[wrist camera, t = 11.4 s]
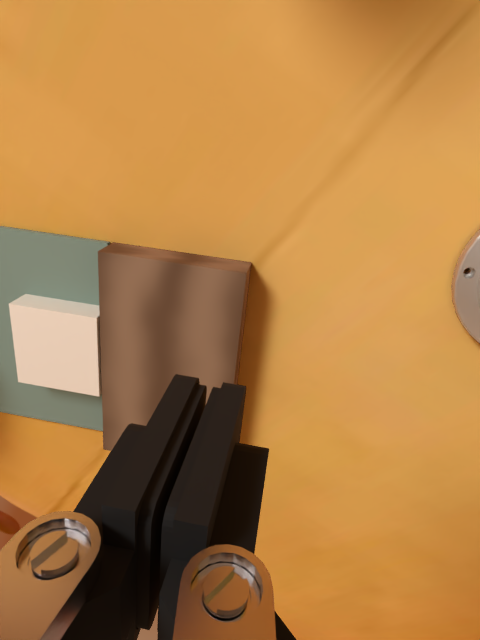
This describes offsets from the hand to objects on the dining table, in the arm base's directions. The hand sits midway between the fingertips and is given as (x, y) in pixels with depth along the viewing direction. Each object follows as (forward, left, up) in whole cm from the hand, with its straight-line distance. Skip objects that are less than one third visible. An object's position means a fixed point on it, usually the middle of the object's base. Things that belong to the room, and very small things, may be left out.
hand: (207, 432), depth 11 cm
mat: (+21, +14, -27) cm, 37 cm away
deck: (+8, +14, -27) cm, 32 cm away
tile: (+18, +14, -27) cm, 35 cm away
